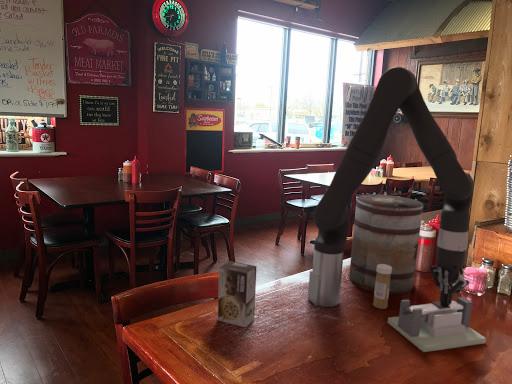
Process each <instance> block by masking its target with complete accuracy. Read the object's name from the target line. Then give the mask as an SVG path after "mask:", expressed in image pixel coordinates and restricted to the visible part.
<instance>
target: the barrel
mask: <svg viewBox="0 0 512 384" xmlns="http://www.w3.org/2000/svg"><path fill="white" fill-rule="evenodd" d="M355 202H356V203H355V213H354V214H355V215H354V221H353V233H352V234H353V235H352V244H351V255H350V265H349V273H348V274H349V275H348V277H349V281H350V282H351V283H352V284H354V285H355V287H358V288H361V289H363V290H366V291H369V292H371V291H372V293H374V291H375V282H376V274H377V271H376V269H377V265H378V264H386V265H389V266H391V267H392V273H391V276H390V285H389V295H402V294H406V293H409V292H411V291H412V290H413V288H414V283H415V282H414V281H415V275H416V273H415V272H416V265H417V257H418V250H419V249H418V248H419V244H420V242H419V241H420V234H421V228H422V227H421V226H422V218H423V211H424V203H422V202H421V201H419V200H416V199H412V198H408V197H405V196H397V195H391V194H390V195H388V194H362V195H359V196H357V197H356V201H355Z"/></svg>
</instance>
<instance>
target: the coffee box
mask: <svg viewBox="0 0 512 384" xmlns="http://www.w3.org/2000/svg"><path fill="white" fill-rule="evenodd" d="M256 282H257V265H252V264H247V263H244V262H243V263H242V262H238V261H232V260H228V261H227V262H225V263H224V264H222V265H221V266H219V267H218V301H217V302H218V303H217V304H218V305H217V306H218V307H217V321H219V322H223V323H227V324H231V325H234V326H238V327H241V328H246V327H248V326H249V325H250V324H251V323H252V322H253V321H254V320H255V313H256V312H255V311H256V310H255V308H256V289H257V288H256V287H257V283H256Z"/></svg>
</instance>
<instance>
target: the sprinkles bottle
mask: <svg viewBox="0 0 512 384" xmlns="http://www.w3.org/2000/svg"><path fill="white" fill-rule="evenodd" d="M376 271H377V274H376V282H375V291H374V292H373V293H374V294H373V302H372V305H373V307H374V308H376V309H379V310H380V309H381V310H383V309H384V310H385V309H387V308H388V306H389V305H388V301H389V296H390V294H389V285H390V276H391V273H392V267H391V266H389V265H386V264H378V265H377V269H376Z"/></svg>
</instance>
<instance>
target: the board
mask: <svg viewBox="0 0 512 384" xmlns="http://www.w3.org/2000/svg"><path fill="white" fill-rule="evenodd" d="M456 302H457V303H459V304H460V305H462V306H463V309H459V310H451V311H443V312H436V313H428V314H422V309H421V308H415V309H413V312H412V313H411V312H410V311H408V310H407V306H411V305H410V304H411V300H409V299H402V300H401V299H400V304H399V305H400V307H399V314H398V316H392V317H390V316H389V317H388V318H387V324H389V326H391V327H392V328H394V329H395V330H396V332H397V331H398V332H399V333H400V334H401V335H402V336H403V337H405V338H406V339H407V340H408V341H409V342H411V343H412V344H413V345H414V346H415V347H417V348H418V349H419V350H420V351H421V352H422V353H427V352H429V353H430V352H434V351H442V350H447V349H449V350H450V349H454V348H463V347H467V346H475V345H481V344H482V345H483V344H485V343H486V341H487V340H486V337H485V336H483V335H482V334H480V333H479V332H477V331H475V330H474V329H473V328H471V327H470V319H471V313H472V306H473V301H471V300H469V299H468V298H466V297H464V296H460V297H457V298H456Z"/></svg>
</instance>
